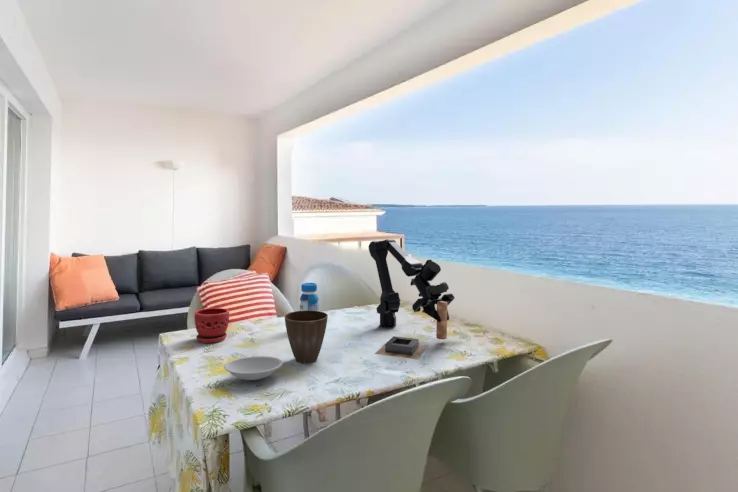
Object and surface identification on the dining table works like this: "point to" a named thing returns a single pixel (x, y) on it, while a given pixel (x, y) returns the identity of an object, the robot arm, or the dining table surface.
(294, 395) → the dining table surface
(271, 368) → the dish
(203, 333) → the plant pot
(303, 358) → the plant pot
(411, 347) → the black collar
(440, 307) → the terracotta pin
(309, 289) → the beverage bottle
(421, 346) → the walnut board
